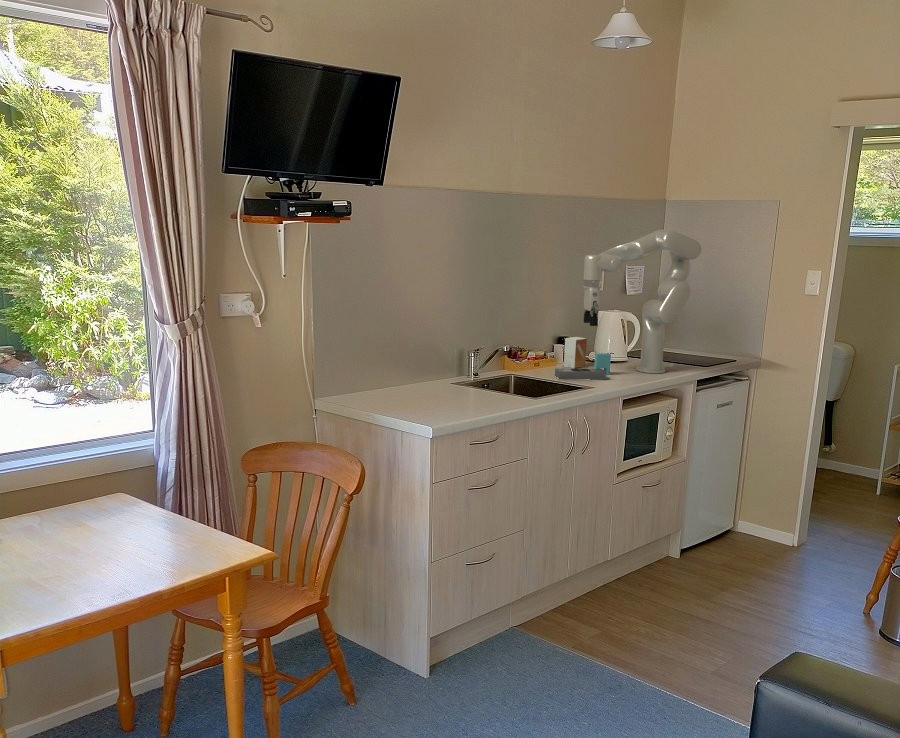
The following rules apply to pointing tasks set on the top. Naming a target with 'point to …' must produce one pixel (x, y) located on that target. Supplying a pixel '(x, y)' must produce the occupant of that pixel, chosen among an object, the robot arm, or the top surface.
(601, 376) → the rail
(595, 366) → the teal notched block
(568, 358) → the small box
